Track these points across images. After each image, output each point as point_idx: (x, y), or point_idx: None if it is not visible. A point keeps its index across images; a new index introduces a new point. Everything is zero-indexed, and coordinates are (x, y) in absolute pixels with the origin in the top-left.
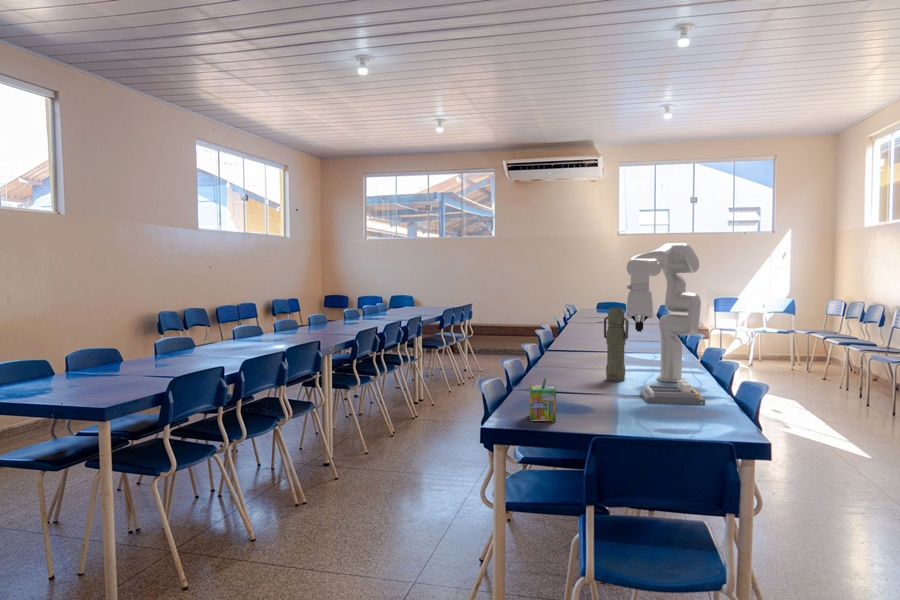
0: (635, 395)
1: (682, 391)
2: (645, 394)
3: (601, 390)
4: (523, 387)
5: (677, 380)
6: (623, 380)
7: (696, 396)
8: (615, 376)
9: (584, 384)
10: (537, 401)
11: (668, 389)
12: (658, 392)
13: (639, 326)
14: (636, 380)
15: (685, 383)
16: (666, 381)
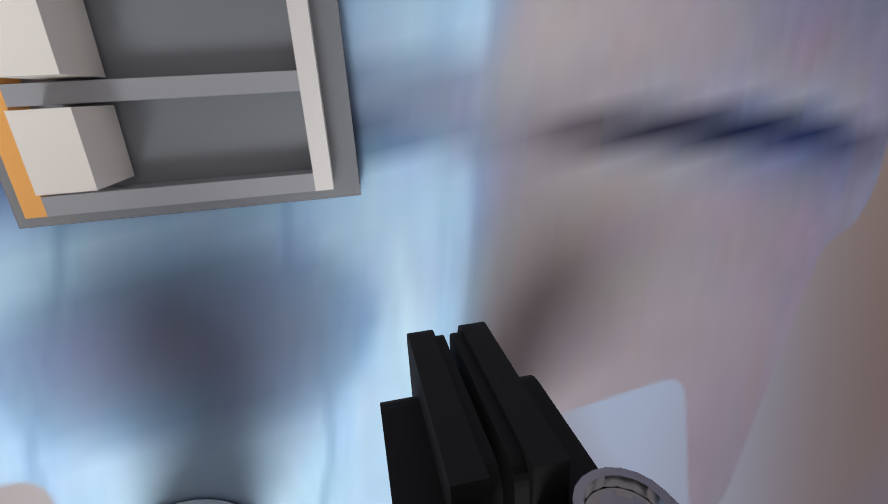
0: (388, 142)
1: (69, 10)
2: (336, 44)
3: (547, 222)
4: (858, 197)
5: (99, 187)
6: None
7: None
8: None
9: (606, 330)
10: None
11: (180, 79)
12: None
13: (481, 390)
14: (368, 483)
15: (13, 38)
16: (221, 500)
